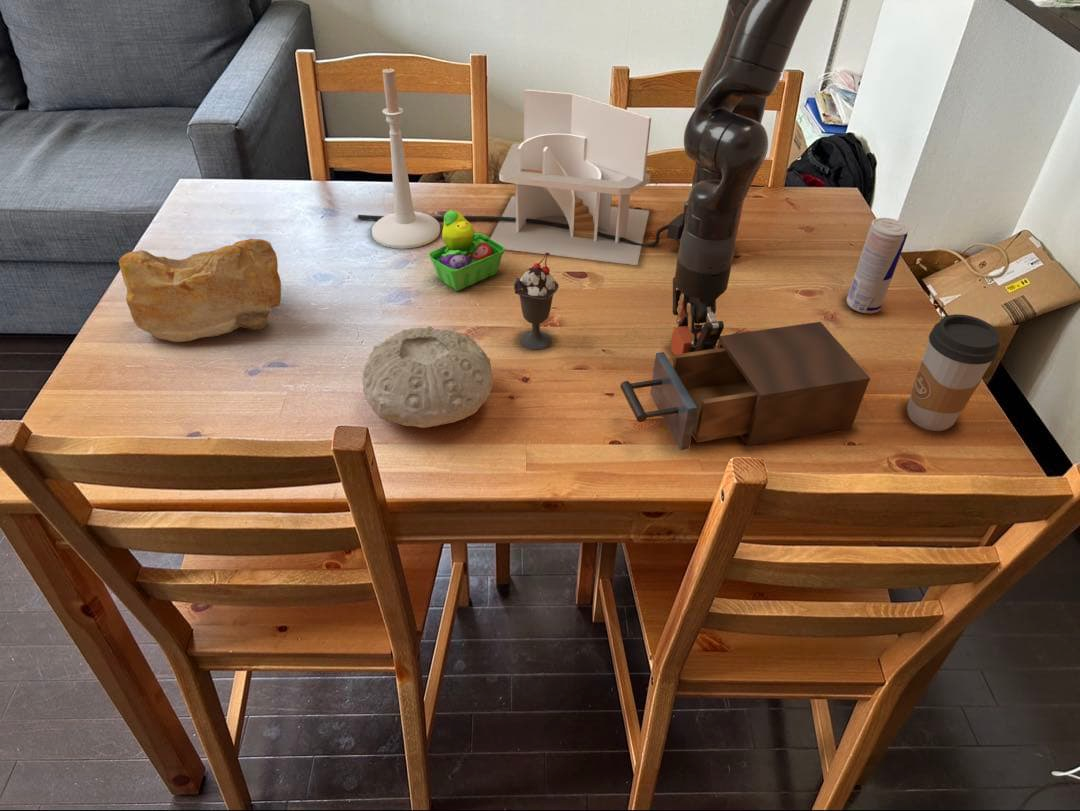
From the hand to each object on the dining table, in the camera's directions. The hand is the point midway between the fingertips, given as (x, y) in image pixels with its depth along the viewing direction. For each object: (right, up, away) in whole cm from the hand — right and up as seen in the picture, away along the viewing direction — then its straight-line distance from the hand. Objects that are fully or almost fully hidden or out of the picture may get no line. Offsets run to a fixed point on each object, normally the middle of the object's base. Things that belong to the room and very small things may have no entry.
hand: (688, 354), depth 120 cm
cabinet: (+11, -8, -9) cm, 16 cm away
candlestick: (-48, +25, +28) cm, 61 cm away
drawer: (-1, -9, -12) cm, 15 cm away
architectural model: (-17, +26, +30) cm, 43 cm away
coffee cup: (+32, -10, -10) cm, 35 cm away
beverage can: (+31, +9, +11) cm, 34 cm away
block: (0, 0, 0) cm, 0 cm away
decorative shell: (-38, -8, -9) cm, 40 cm away
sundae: (-23, +2, +3) cm, 24 cm away
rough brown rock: (-74, +6, +7) cm, 74 cm away
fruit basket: (-36, +15, +17) cm, 42 cm away
